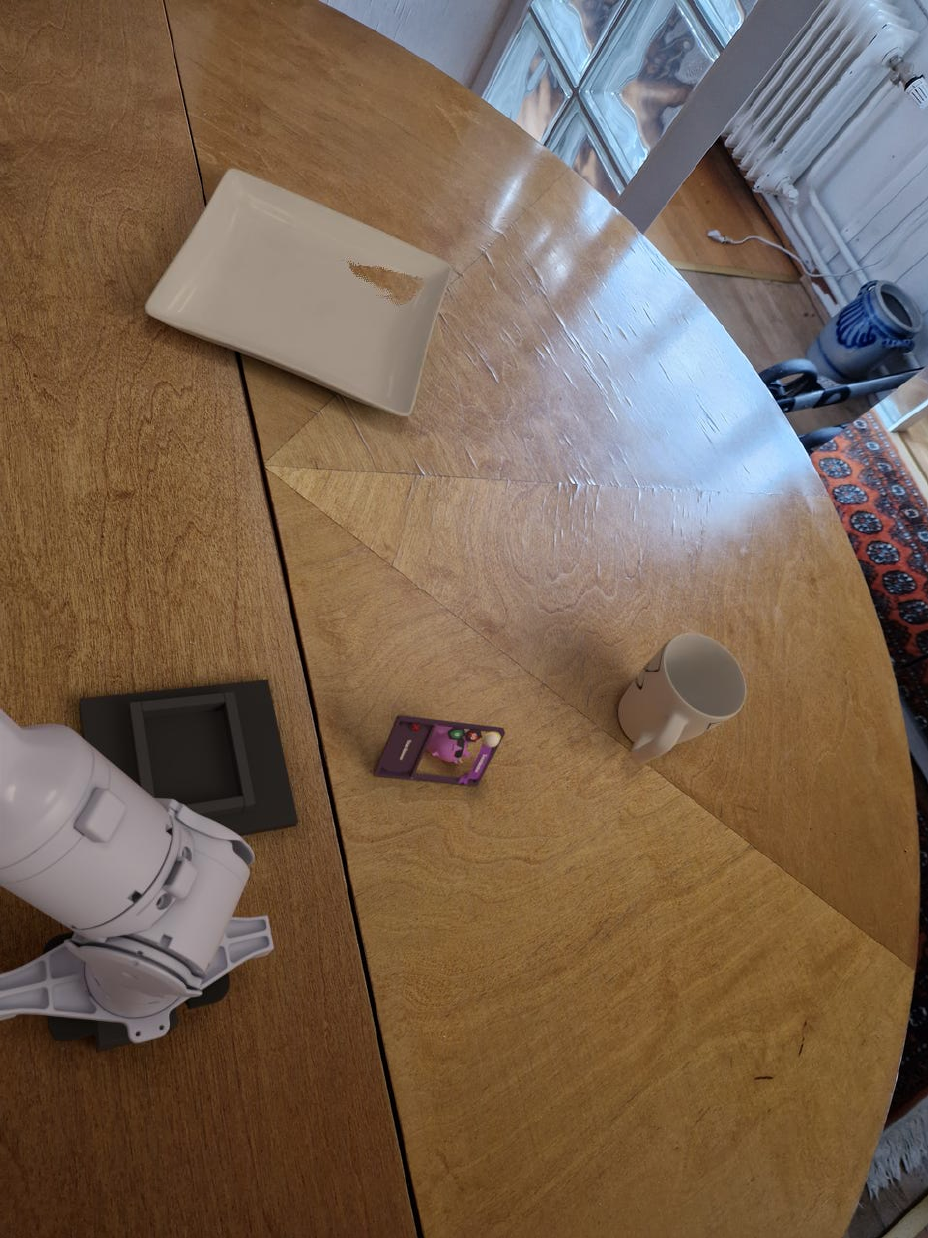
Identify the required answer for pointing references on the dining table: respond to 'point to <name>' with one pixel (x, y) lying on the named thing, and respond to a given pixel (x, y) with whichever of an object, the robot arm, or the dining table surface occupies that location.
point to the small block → (121, 1033)
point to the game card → (435, 748)
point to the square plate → (303, 292)
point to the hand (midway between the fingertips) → (129, 990)
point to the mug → (680, 695)
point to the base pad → (200, 750)
